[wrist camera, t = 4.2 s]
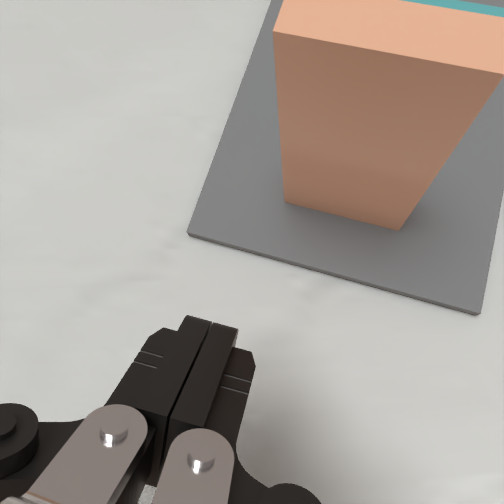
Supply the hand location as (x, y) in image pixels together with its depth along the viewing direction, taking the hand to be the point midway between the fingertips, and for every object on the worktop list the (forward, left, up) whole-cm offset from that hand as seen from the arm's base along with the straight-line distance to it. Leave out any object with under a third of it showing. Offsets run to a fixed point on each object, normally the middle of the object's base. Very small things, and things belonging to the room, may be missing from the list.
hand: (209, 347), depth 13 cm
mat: (+2, +17, -10) cm, 20 cm away
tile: (+2, +9, -9) cm, 13 cm away
